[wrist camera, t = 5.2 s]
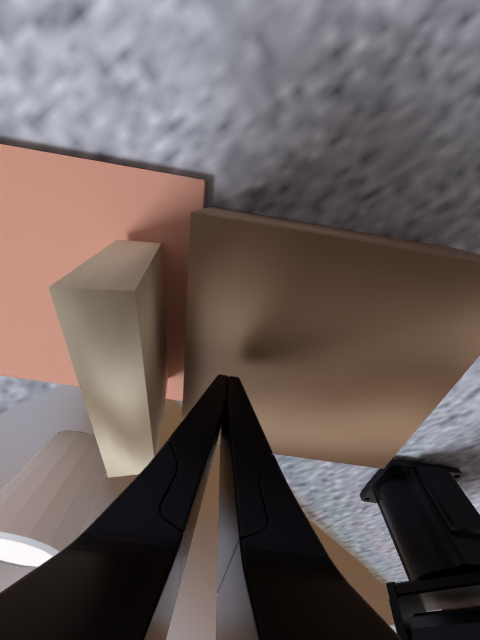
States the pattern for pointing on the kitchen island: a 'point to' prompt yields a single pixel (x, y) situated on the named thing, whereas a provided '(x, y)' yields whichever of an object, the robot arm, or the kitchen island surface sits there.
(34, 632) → the robot arm
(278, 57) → the kitchen island surface
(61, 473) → the shot glass
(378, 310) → the panel
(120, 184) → the mat
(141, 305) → the cream rectangular block
